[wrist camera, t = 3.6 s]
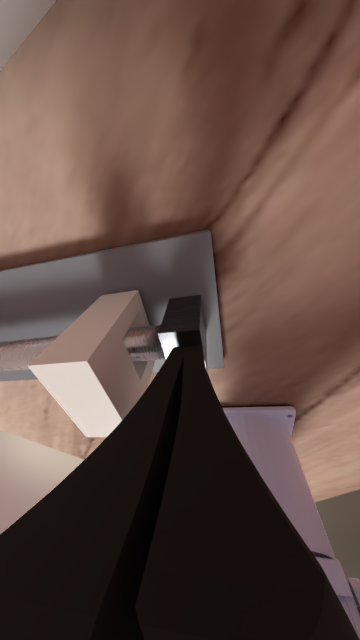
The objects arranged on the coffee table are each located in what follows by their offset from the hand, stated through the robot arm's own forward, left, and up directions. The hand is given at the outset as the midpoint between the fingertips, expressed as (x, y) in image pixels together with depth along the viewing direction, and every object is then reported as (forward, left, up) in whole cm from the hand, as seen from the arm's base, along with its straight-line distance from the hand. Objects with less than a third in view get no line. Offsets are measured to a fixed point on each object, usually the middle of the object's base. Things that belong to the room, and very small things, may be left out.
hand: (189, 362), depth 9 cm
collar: (0, +4, -4) cm, 6 cm away
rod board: (0, +10, -5) cm, 11 cm away
